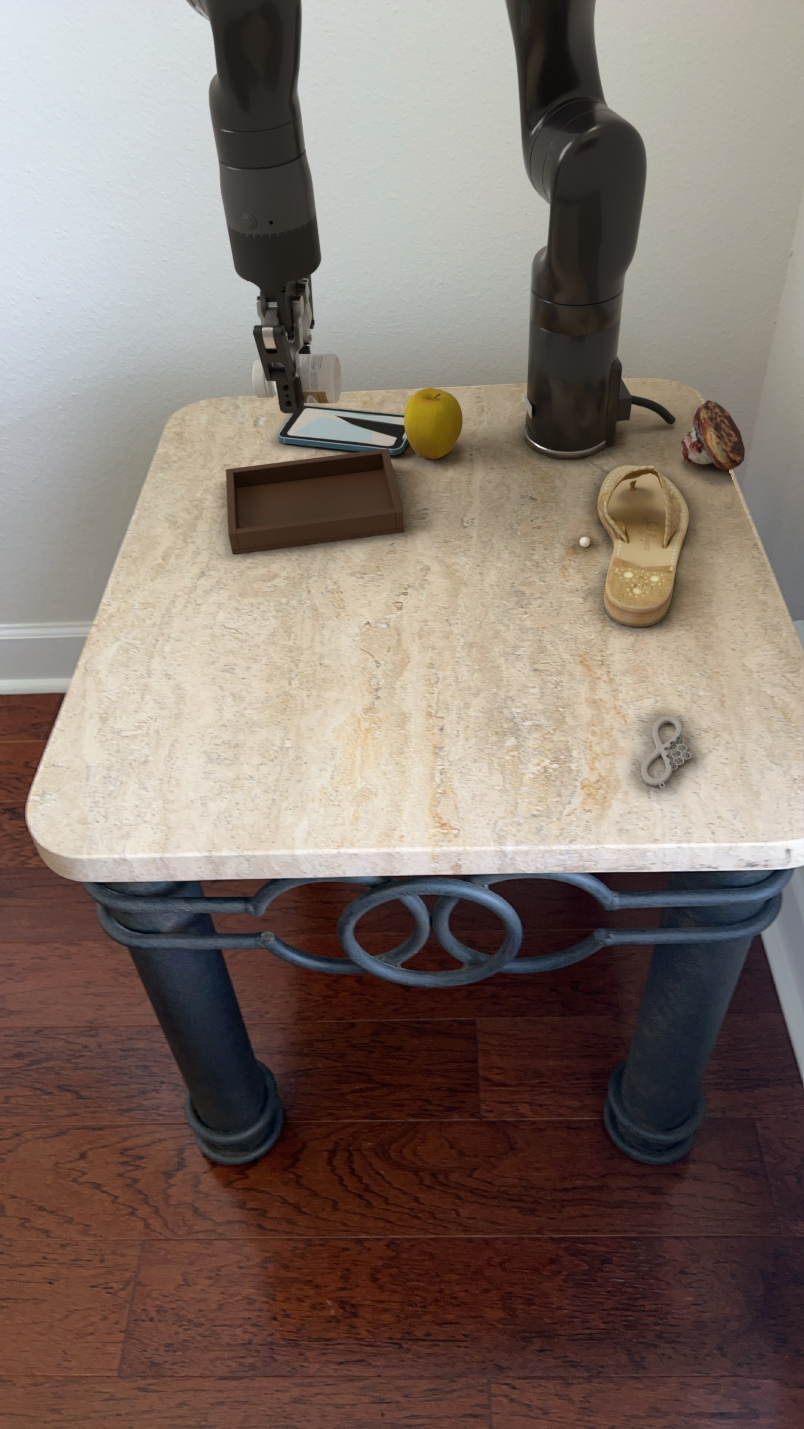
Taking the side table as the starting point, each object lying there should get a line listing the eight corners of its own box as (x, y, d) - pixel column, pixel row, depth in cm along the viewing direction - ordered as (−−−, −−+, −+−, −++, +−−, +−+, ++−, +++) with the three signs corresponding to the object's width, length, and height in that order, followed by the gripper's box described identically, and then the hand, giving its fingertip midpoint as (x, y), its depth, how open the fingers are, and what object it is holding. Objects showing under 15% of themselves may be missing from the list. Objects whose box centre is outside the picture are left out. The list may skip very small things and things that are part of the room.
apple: (453, 473, 113) (452, 407, 107) (397, 465, 114) (393, 400, 108) (470, 441, 117) (469, 375, 111) (415, 434, 118) (412, 369, 112)
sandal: (524, 594, 98) (527, 524, 92) (617, 465, 112) (625, 397, 106) (653, 635, 94) (665, 565, 88) (735, 496, 107) (750, 426, 101)
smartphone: (298, 403, 123) (419, 415, 119) (299, 410, 123) (420, 423, 119) (274, 437, 118) (400, 451, 114) (276, 444, 119) (400, 458, 115)
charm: (636, 787, 82) (682, 795, 81) (636, 783, 82) (682, 790, 81) (656, 715, 87) (700, 721, 86) (657, 710, 87) (700, 716, 86)
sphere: (602, 594, 98) (599, 603, 99) (590, 533, 102) (587, 541, 103) (592, 594, 98) (589, 603, 99) (580, 532, 102) (577, 541, 103)
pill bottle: (342, 404, 99) (263, 403, 100) (342, 355, 98) (262, 355, 99) (333, 403, 95) (251, 402, 96) (332, 352, 94) (249, 352, 95)
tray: (389, 467, 114) (388, 448, 112) (404, 531, 106) (403, 511, 104) (229, 488, 113) (225, 468, 111) (232, 554, 105) (228, 534, 103)
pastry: (707, 432, 104) (666, 460, 107) (752, 476, 107) (711, 501, 111) (704, 384, 109) (665, 412, 112) (747, 428, 112) (708, 454, 115)
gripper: (298, 248, 81) (324, 439, 93) (329, 176, 90) (348, 359, 103) (205, 249, 82) (242, 438, 94) (245, 178, 91) (274, 358, 104)
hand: (297, 396), depth 99 cm, fingers closed on pill bottle, 4 cm apart
